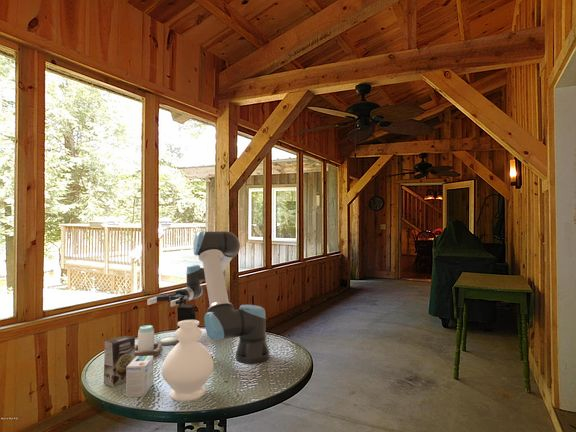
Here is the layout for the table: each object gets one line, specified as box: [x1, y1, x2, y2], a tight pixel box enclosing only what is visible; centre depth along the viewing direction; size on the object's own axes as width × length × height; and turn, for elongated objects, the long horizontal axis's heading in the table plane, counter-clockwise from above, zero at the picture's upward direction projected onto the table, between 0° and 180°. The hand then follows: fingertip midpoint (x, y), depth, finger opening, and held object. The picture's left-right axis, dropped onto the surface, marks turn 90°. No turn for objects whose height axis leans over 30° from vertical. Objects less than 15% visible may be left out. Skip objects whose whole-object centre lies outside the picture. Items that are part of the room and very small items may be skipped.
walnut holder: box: [135, 342, 162, 357], centre depth 174 cm, size 12×12×2 cm
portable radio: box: [176, 304, 197, 345], centre depth 171 cm, size 8×6×25 cm
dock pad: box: [155, 335, 177, 347], centre depth 190 cm, size 12×12×1 cm
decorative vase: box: [161, 320, 214, 402], centre depth 132 cm, size 18×18×25 cm
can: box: [137, 324, 155, 352], centre depth 174 cm, size 7×7×12 cm
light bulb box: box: [125, 356, 154, 398], centre depth 134 cm, size 11×7×11 cm, turn 5°
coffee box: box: [103, 335, 136, 388], centre depth 142 cm, size 9×6×16 cm
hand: (159, 303), depth 184 cm, fingers open, 13 cm apart
